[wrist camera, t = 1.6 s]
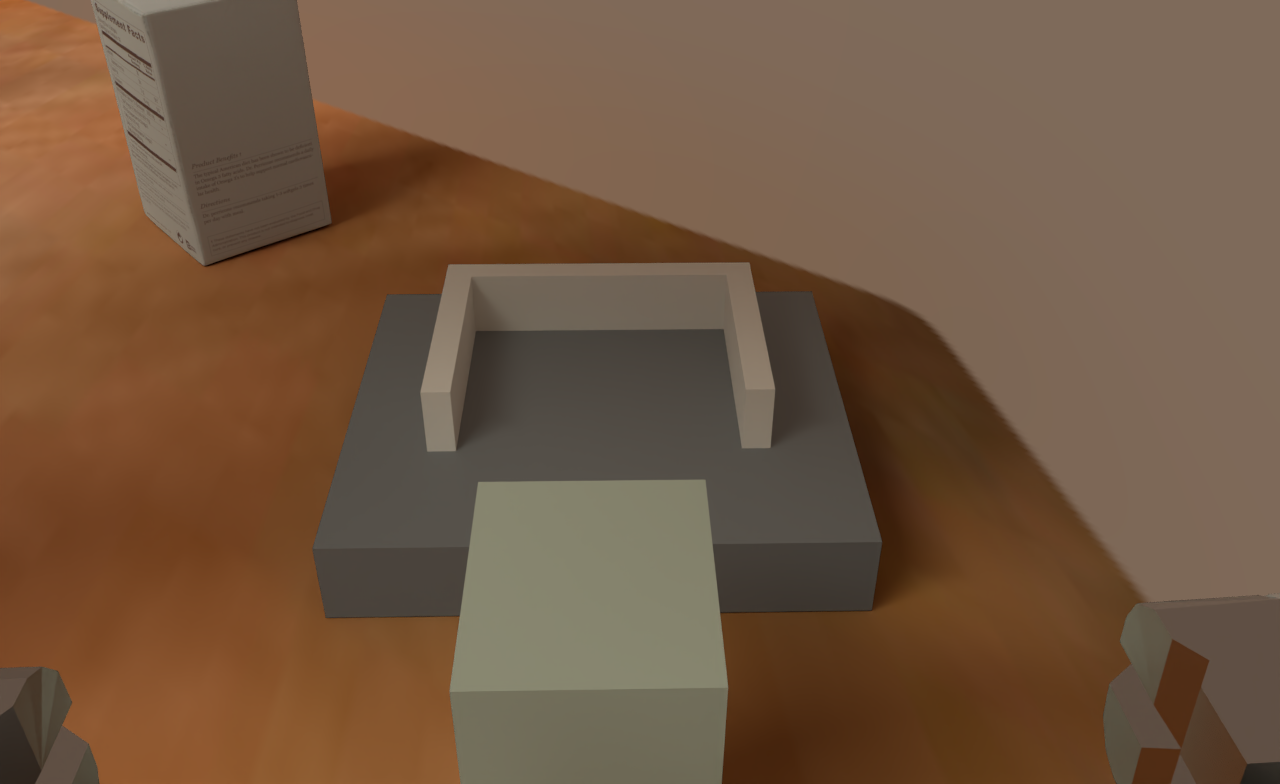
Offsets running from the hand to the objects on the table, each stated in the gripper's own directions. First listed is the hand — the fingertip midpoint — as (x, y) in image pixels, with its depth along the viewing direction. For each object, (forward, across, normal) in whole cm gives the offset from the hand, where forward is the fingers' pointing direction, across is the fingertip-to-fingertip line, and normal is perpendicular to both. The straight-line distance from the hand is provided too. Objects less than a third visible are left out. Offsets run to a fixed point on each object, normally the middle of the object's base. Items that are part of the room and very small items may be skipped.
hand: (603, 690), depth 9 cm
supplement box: (+53, +19, +19) cm, 59 cm away
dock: (+31, 0, +20) cm, 37 cm away
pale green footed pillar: (+12, +1, +21) cm, 24 cm away
